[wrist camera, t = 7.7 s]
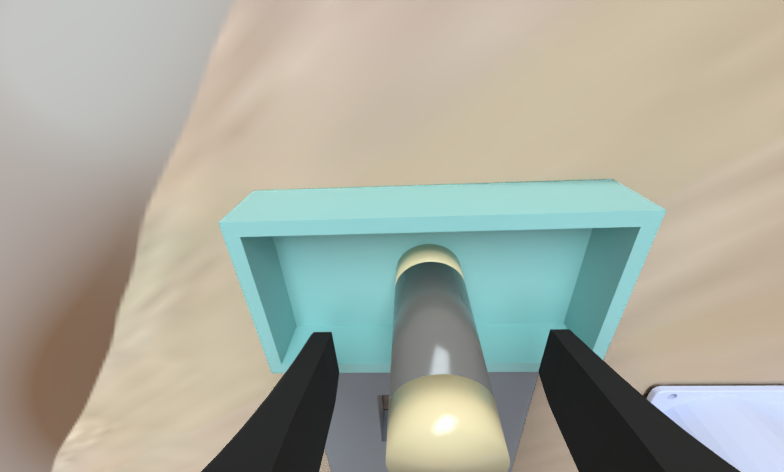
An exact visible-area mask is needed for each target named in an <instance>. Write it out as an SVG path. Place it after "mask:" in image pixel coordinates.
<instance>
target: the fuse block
mask: <svg viewBox="0 0 784 472" xmlns="http://www.w3.org/2000/svg"><path fill="white" fill-rule="evenodd" d="M538 374H539V372H488V375H489V379H490V383H491V387H492V391H493V395H494V399H495V403H496V406H497V410H498V414H499V418H500V422H501V426H502V430H503V434H504V438H505V442H506V446H507V450H508V454H509V457H510V466H509V469H508V471H507V472H511V470H512V466H513V463H514V459H515V456H516V452H517V448H518V445H519V441H520V438H521V434H522V431H523V427H524V424H525V420H526V416H527V413H528V409H529V406H530V402H531V399H532V395H533V392H534V388H535V385H536V381H537V377H538ZM389 389H390V373H339V379H338V387H337V395H336V402H335V407H334V411H333V415H332V419H331V424H330V428H329V432H328V436H327V440H326V444H325V452H326V455H327V459H328V462H329V466H330V470H331V472H389V471H388V469H387V467H386V443H387V425H388V410H384V408H383V398H382V395H389Z"/></svg>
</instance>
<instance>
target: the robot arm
mask: <svg viewBox="0 0 784 472" xmlns="http://www.w3.org/2000/svg"><path fill="white" fill-rule="evenodd" d="M539 374H540V378H541V381H542V384H543V388H544V391H545V394H546V397H547V400H548V403H549V405H550V408H551V410H552V412H553V415H554V417H555V419H556V421H557V424H558V426H559V428H560V431H561V433H562V435H563V437H564V439H565V442H566V444H567V446H568V448H569V451H570V453H571V455H572V457H573V460H574V462H575V464H576V466H577V469H578V471H579V472H784V385H764V386H657V387H655V388H653V389H652V390H651V391H650V393H649V395H648V396H647V398H645V397H644V396H642V395H641V394H640V393H639V392H638V391H637V390H636V389H634V388H633V387H632V386H631V385H630V384H629V383H628V382H626V381H625V380H624V379H623V378H622V377H621V376H620V375H619V374H617V373H616V372H615V371H614V370H613V369H612V368H611V367H610V366H609V365H608V364H606V363H605V362H604V361H603V360H602V359H601V358H600V357H599V356H598V355H597V354H596V353H595V352H593V351H592V350H591V349H590V348H589V347H588V346H587V345H586V344H585V343H584V342H583V341H582V340H581V339H580V338H578V337H577V336H576V335H575V334H574V333H573V332H572V331H571V330H570V329H550V332H549V335H548V339H547V342H546V346H545V350H544V353H543V357H542V360H541V364H540V368H539ZM338 379H339V367H338V362H337V357H336V352H335V347H334V342H333V336H332V332H313V333H312V334H311V336H310V337H309V339H308V340H307V342H306V343H305V345H304V346H303V348H302V349H301V351H300V352H299V354H298V355H297V357H296V358H295V360H294V361H293V363H292V364H291V365H290V367H289V368H288V370H287V371H286V372H285V374H284V375H283V377H282V378H281V379H280V381H279V382H278V383H277V385H276V386H275V387H274V389H273V390H272V391H271V393H270V394H269V395H268V397H267V398H266V399H265V400H264V402H263V403H262V404H261V405H260V407H259V408H258V409H257V410H256V412H255V413H254V414H253V415H252V417H251V418H250V419H249V420H248V421H247V422H246V424H245V425H244V426H243V427H242V428H241V429H240V431H239V432H238V433H237V434H236V435H235V436H234V437H233V439H232V440H231V441H230V442H229V443H228V444H227V445H226V446H225V447H224V448H223V450H222V451H221V452H220V453H219V454H218V455H217V456H216V457H215V458H214V459H213V460H212V461H211V462H210V463H209V464H208V465H207V466H206V467H205V468H204V469H203V470H202V471H201V472H319V469H320V465H321V461H322V457H323V453H324V448H325V444H326V440H327V436H328V432H329V428H330V424H331V419H332V415H333V411H334V407H335V402H336V395H337V387H338Z"/></svg>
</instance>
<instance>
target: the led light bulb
mask: <svg viewBox="0 0 784 472" xmlns="http://www.w3.org/2000/svg"><path fill="white" fill-rule="evenodd" d="M509 466H510V457H509V454H508V450H507V446H506V442H505V438H504V434H503V430H502V426H501V422H500V418H499V414H498V410H497V406H496V403H495V399H494V395H493V391H492V387H491V383H490V379H489V375H488V371H487V367H486V363H485V359H484V355H483V352H482V348H481V344H480V340H479V336H478V332H477V328H476V324H475V320H474V316H473V312H472V308H471V304H470V301H469V297H468V293H467V289H466V285H465V281H464V277H463V273H462V269H461V265H460V262H459V260H458V258H457V256H456V255H455V254H454V253H453V252H452V251H451V250H449V249H447V248H446V247H443V246H441V245H436V244H422V245H418V246H415V247H413V248H411V249H409V250H408V251H406V252H405V253H404V254H403V255H402V256H401V257H400V259H399V261H398V263H397V267H396V280H395V298H394V316H393V334H392V352H391V370H390V389H389V407H388V425H387V443H386V467H387V469H388V471H389V472H507V471H508V469H509Z"/></svg>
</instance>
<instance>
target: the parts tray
mask: <svg viewBox="0 0 784 472" xmlns="http://www.w3.org/2000/svg"><path fill="white" fill-rule="evenodd" d="M665 212H666V210H665V209H664V208H662V207H660V206H659V205H657V204H655V203H653V202H652V201H650V200H648V199H646V198H645V197H643V196H641V195H640V194H638V193H636V192H634V191H633V190H631V189H629V188H627V187H626V186H624V185H622V184H621V183H619V182H617V181H615V180H614V179H598V180H567V181H537V182H506V183H475V184H445V185H414V186H383V187H353V188H322V189H291V190H261V191H253V192H252V193H251V194H249V195H248V196H247V197H246V198H245V199H244V200H243V201H242V202H241V203H239V204H238V205H237V206H236V207H235V208H234V209H233V210H232V211H231V212H229V213H228V214H227V215H226V216H225V217H224V218H223V219H222V220H221V221H219V222H218V223H219V226H220V229H221V232H222V234H223V237H224V240H225V243H226V246H227V249H228V251H229V254H230V257H231V260H232V263H233V265H234V268H235V271H236V274H237V277H238V279H239V282H240V285H241V288H242V291H243V294H244V296H245V299H246V302H247V305H248V308H249V310H250V313H251V316H252V319H253V322H254V325H255V327H256V330H257V333H258V336H259V339H260V341H261V344H262V347H263V350H264V353H265V355H266V358H267V361H268V364H269V367H270V370H271V372H272V373H285V372H286V371H287V370H288V368H289V367H290V365H291V364H292V363H293V361H294V360H295V358H296V357H297V355H298V354H299V352H300V351H301V349H302V348H303V346H304V345H305V343H306V342H307V340H308V339H309V337H310V336H311V334H312V333H313V332H332V336H333V342H334V347H335V352H336V357H337V362H338V367H339V373H390V370H391V352H392V334H393V316H394V298H395V280H396V267H397V263H398V261H399V259H400V257H401V256H402V255H403V254H404V253H405V252H406V251H408V250H409V249H411V248H413V247H415V246H418V245H422V244H436V245H441V246H443V247H446V248H447V249H449V250H451V251H452V252H453V253H454V254H455V255H456V256H457V258H458V260H459V262H460V265H461V269H462V273H463V277H464V281H465V285H466V289H467V293H468V297H469V301H470V304H471V308H472V312H473V316H474V320H475V324H476V328H477V332H478V336H479V340H480V344H481V348H482V352H483V355H484V359H485V363H486V367H487V371H488V372H539V368H540V364H541V360H542V357H543V353H544V350H545V346H546V342H547V339H548V335H549V332H550V329H570V330H571V331H572V332H573V333H574V334H575V335H576V336H577V337H578V338H580V339H581V340H582V341H583V342H584V343H585V344H586V345H587V346H588V347H589V348H590V349H591V350H592V351H593V352H595V353H596V354H597V355H598V356H599V357H600V358H601V359H602V360H603V359H604V357H605V354H606V352H607V349H608V347H609V345H610V342H611V340H612V338H613V335H614V333H615V330H616V328H617V326H618V323H619V321H620V319H621V316H622V314H623V311H624V309H625V307H626V304H627V302H628V300H629V297H630V295H631V293H632V290H633V288H634V285H635V283H636V281H637V278H638V276H639V274H640V271H641V269H642V266H643V264H644V262H645V259H646V257H647V255H648V252H649V250H650V247H651V245H652V243H653V240H654V238H655V236H656V233H657V231H658V229H659V226H660V224H661V221H662V219H663V217H664V214H665Z"/></svg>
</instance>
